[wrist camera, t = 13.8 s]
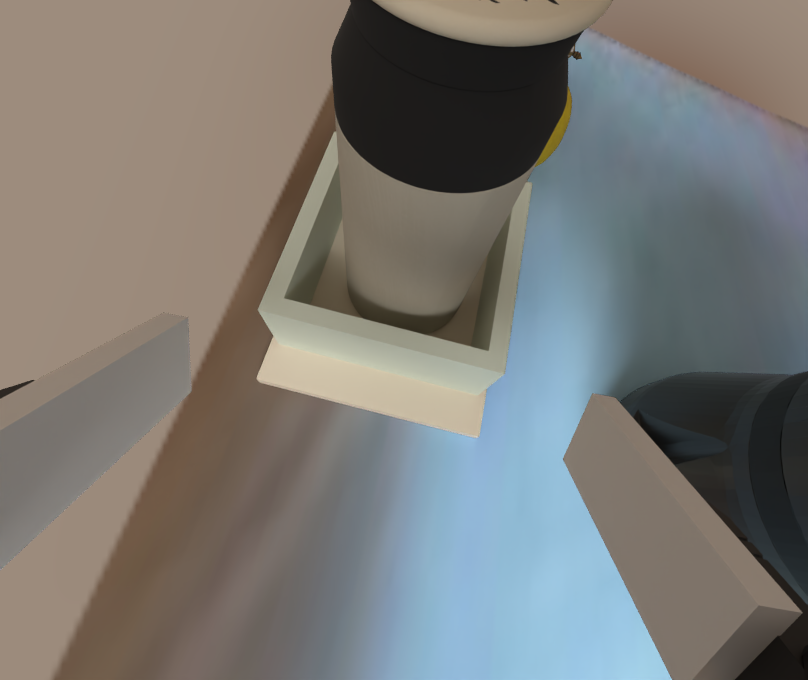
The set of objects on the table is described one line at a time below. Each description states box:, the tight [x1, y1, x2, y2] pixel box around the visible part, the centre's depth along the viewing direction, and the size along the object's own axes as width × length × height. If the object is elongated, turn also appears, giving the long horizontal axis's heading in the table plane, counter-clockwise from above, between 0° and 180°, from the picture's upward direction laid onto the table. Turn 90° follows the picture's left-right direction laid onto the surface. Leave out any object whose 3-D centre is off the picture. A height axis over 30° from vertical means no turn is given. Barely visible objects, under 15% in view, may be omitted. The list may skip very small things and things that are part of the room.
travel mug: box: [331, 0, 613, 335], centre depth 18 cm, size 8×8×18 cm
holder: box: [256, 132, 532, 438], centre depth 24 cm, size 18×14×6 cm
